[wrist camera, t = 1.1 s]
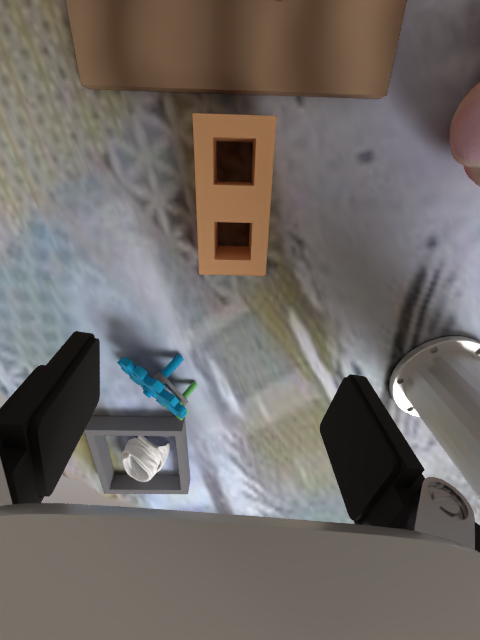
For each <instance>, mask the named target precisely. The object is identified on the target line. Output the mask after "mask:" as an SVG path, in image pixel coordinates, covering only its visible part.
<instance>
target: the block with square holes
mask: <svg viewBox="0 0 480 640" xmlns="http://www.w3.org/2000/svg"><path fill="white" fill-rule="evenodd" d="M276 120H277V116H264V115H234V114H203V113H193V136H194V160H195V184H196V209H197V233H198V257H199V274H201V275H247V276H266V263H267V248H268V234H269V220H270V206H271V191H272V177H273V163H274V149H275V134H276ZM217 141H222V142H253V154H252V179H251V182H224V181H217ZM218 222H238V223H250V229H249V246H218Z"/></svg>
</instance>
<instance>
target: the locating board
mask: <svg viewBox="0 0 480 640" xmlns="http://www.w3.org/2000/svg"><path fill="white" fill-rule="evenodd" d="M406 2H407V0H66V5H67V10H68V16H69V21H70V27H71V32H72V38H73V43H74V49H75V54H76V60H77V65H78V71H79V76H80V82H81V85H82V86H84V87H86V88H88V89H101V90H130V91H160V92H189V93H218V94H248V95H277V96H306V97H336V98H365V99H380V98H382V97H384V96H386V95H387V92H388V87H389V83H390V78H391V73H392V68H393V63H394V59H395V54H396V49H397V44H398V40H399V35H400V30H401V25H402V21H403V16H404V11H405V6H406Z"/></svg>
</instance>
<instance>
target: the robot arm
mask: <svg viewBox="0 0 480 640" xmlns="http://www.w3.org/2000/svg"><path fill="white" fill-rule="evenodd" d="M389 390H390V394H391V397H392V399H393V400H394V402H395V403H396V405H397V406H398V407H399V408H400V409H401V410H403V411H404V412H406V413H408V414H411V415H414V416H420V417H421V419H422V420H423V422H424V423H425V424H426V426H427V427H428V428H429V430H430V431H431V433H432V434H433V435H434V437H435V438H436V440H437V441H438V442H439V444H440V445H441V447H442V448H443V449H444V451H445V452H446V453H447V455H448V456H449V458H450V459H451V460H452V462H453V463H454V465H455V466H456V467H457V469H458V470H459V471H460V473H461V474H462V476H463V477H464V478H465V480H466V481H467V483H468V484H469V485H470V487H471V488H472V490H473V491H474V492H475V494H476V495H477V496H478V498H479V499H480V342H478V341H476V340H474V339H471V338H468V337H463V336H448V337H441V338H438V339H434V340H431V341H428V342H426V343H424V344H422V345H420V346H418V347H417V348H415V349H413V350H412V351H410V352H409V353H408V354H407V355H406V356H404V357H403V359H402V360H401V361H400V362H399V363H398V364H397V366H396V367H395V369H394V370H393V372H392V375H391V378H390V383H389ZM99 396H100V348H99V339H96V338H95V337H94V334H91V333H84V332H78V331H76V332H74V333H73V334H72V335H71V336H70V338H69V339H68V340H67V341H66V342H65V344H64V345H63V346H62V347H61V348H60V349H59V351H58V352H57V353H56V354H55V355H54V357H53V358H52V359H51V360H50V361H49V363H48V364H47V365H46V366H45V365H40V366H38V367H37V368H36V369H35V370H34V371H33V372H32V373H31V374H30V375H29V376H28V378H27V379H26V380H25V381H24V382H23V383H22V384H21V385H20V387H19V388H18V389H17V390H16V391H15V392H14V393H13V395H12V396H11V397H10V398H9V399H8V400H7V401H6V403H5V404H4V405H3V406H2V407H1V408H0V640H480V525H478V524H477V523H476V522H475V518H474V513H473V510H472V508H471V506H470V504H469V502H468V501H467V500H466V499H465V497H464V496H463V495H462V494H461V493H460V492H459V491H458V490H457V489H456V488H454V487H453V486H452V485H450V484H449V483H447V482H445V481H444V480H442V479H439V478H435V477H428V478H426V479H425V478H424V476H423V475H422V472H423V471H424V468H423V466H422V465H421V463H420V462H419V460H418V459H417V457H416V455H415V454H414V452H413V451H412V449H411V447H410V446H409V444H408V443H407V441H406V440H405V438H404V436H403V435H402V433H401V432H400V430H399V429H398V427H397V425H396V424H395V422H394V421H393V419H392V417H391V416H390V414H389V413H388V411H387V410H386V408H385V406H384V405H383V403H382V402H381V400H380V398H379V397H378V395H377V394H376V392H375V391H374V389H373V387H372V386H371V384H370V383H369V381H368V380H367V378H366V377H364V376H358V375H349V376H348V377H345V378H344V379H343V381H342V382H341V384H340V386H339V388H338V390H337V392H336V394H335V396H334V398H333V400H332V402H331V404H330V406H329V408H328V410H327V412H326V414H325V416H324V418H323V420H322V422H321V424H320V433H321V436H322V439H323V442H324V445H325V447H326V450H327V453H328V456H329V459H330V462H331V465H332V468H333V471H334V474H335V477H336V480H337V482H338V485H339V488H340V491H341V494H342V497H343V500H344V503H345V506H346V509H347V512H348V514H349V517H350V518H351V519H352V520H354V522H355V524H345V523H333V522H321V521H309V520H297V519H284V518H271V517H258V516H245V515H231V514H218V513H205V512H191V511H177V510H162V509H148V508H134V507H120V506H101V505H83V504H63V503H62V504H61V503H41V501H42V500H43V498H44V496H50V495H51V494H52V492H53V490H54V489H55V487H56V484H57V483H58V481H59V479H60V477H61V475H62V473H63V471H64V469H65V467H66V465H67V463H68V461H69V459H70V457H71V455H72V453H73V451H74V449H75V447H76V445H77V443H78V441H79V440H80V438H81V436H82V434H83V432H84V430H85V428H86V426H87V424H88V422H89V420H90V418H91V416H92V414H93V412H94V410H95V408H96V406H97V404H98V401H99Z"/></svg>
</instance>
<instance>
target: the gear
mask: <svg viewBox="0 0 480 640" xmlns="http://www.w3.org/2000/svg"><path fill="white" fill-rule="evenodd" d="M183 360H184V359H183V358H182V357H181V356H180V355H178V354H177V355H176V356H175V358H174V359H173V360H172V361H171V362H170V363H169V364H168V365H167V366H166V367H165V368H164V370H163V371H162V372H161V373H160V372H157V373H156V375H155V376H154V377H153V378H150V377H149V376H148V375H147V374H148V372H147V371H146V370H144V369H143V368H142V367H141V366H139V365H138V366H137V367H136V366H135V364H134V363H133V362H132V361H131V360H130V359H128V358H127V357H126V358H123V357H122V358H121V359H120V360H119V361H118V362H117V363H118V364H119V365H120V366H121V369H122V370H123V371H124V372H125V373H127V374H128V375H129V376H130V378H131V379H132V380H133V381H134V382H135V383H137V384H138V385H140V386H141V387H142V388H143V390H144V391H143V393H144V394H145V395H146V396H147V397H149V398H150V397H151V396H153V397H154V398H156V399H157V400H156V401H157V402H158V403H160V404H161V405H162V406H163V407H164V406H165V407H166V408H167V409H168V410H169V411H170V412H172V413H173V414H174V415H175V416H176V417H177V418H178V419H180V420H181V421H182V420H183V418H184V417H185V416H186V415H187V413H188V411H187V410H186V408H185V407H184V406H185V405H186V404H187V403H188V401H187V399H186V398H187V397H188V396H189V395H190V394H191V392H192V391H193V390H194V389H195V388H196V386H197V384H196V383H195V382H192V384H191V385H190V386H189V387H188V388H187V390H186V391H185V392H184V393H183V394H181V393H180V392H179V391H178V390H177V389H176V388H175V387H174V386H173V384H172V383H171V382H170V381H169V380H168V379H167V378H168V377H169V376H170V374H171V373H172V372H173V371H174V370H175V369H176V368H177V367H178V365H179V364H180V363H181V362H182V361H183ZM164 385H165V386H166V387H167V388H168V389H169V390H170V391H171V392H172V393H173V394H174V395H175V396H174V395H173V394H171V393H169V392H168V391H166V390H165V389H164V388H165V387H164Z"/></svg>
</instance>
